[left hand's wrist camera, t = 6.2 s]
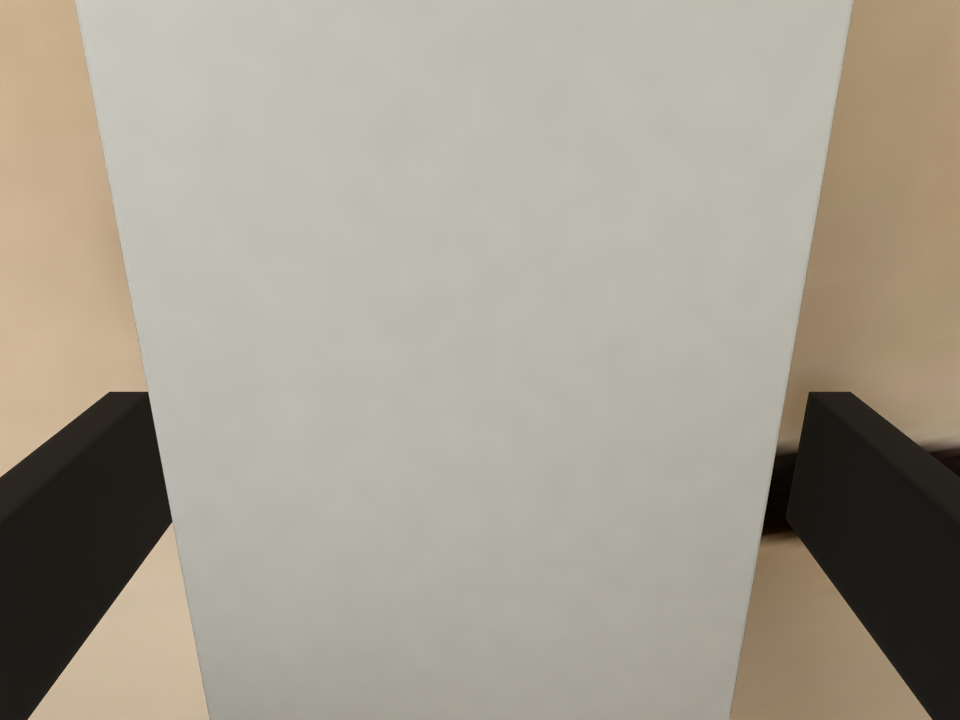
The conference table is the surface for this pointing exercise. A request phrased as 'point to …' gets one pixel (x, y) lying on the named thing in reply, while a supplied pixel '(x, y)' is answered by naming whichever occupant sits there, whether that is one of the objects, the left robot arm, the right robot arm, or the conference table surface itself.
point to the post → (466, 336)
